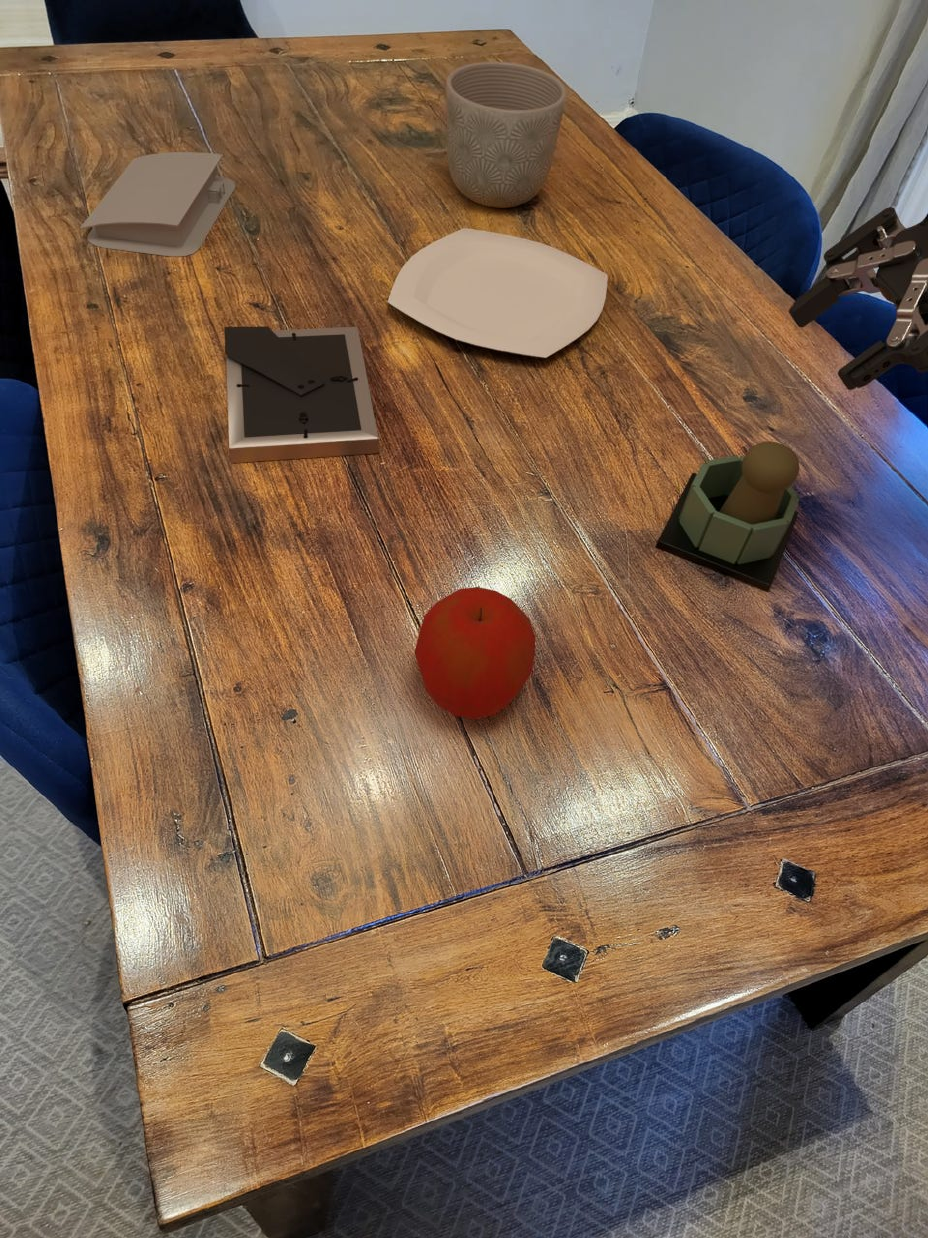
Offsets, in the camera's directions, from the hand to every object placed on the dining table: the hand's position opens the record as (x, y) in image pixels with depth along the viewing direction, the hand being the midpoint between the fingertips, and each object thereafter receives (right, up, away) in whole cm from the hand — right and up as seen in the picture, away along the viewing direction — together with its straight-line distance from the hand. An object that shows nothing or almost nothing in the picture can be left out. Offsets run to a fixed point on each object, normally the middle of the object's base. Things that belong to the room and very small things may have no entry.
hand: (817, 349), depth 71 cm
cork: (0, -13, +20) cm, 24 cm away
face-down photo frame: (-48, +4, +30) cm, 57 cm away
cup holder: (-1, -13, +22) cm, 25 cm away
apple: (-28, -28, +7) cm, 40 cm away
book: (-71, +36, +54) cm, 96 cm away
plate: (-24, +20, +46) cm, 55 cm away
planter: (-24, +43, +64) cm, 80 cm away
